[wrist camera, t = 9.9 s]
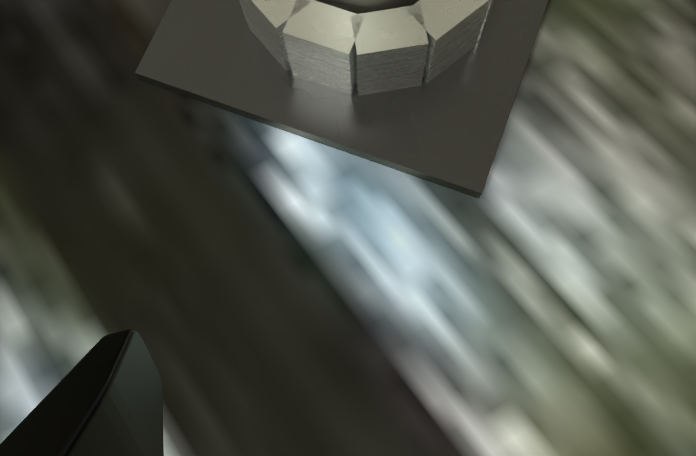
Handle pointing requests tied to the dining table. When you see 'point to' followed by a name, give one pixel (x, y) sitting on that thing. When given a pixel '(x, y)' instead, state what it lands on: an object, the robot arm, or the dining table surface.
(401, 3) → the cream bottle
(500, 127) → the segmented ring base
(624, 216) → the dining table surface
